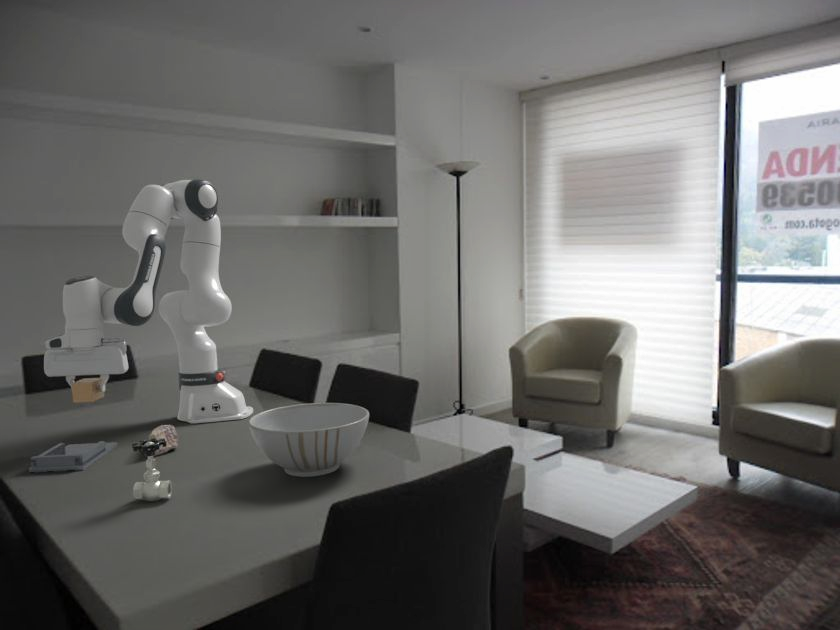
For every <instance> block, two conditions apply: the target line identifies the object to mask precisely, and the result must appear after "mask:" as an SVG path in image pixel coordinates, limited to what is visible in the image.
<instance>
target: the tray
mask: <svg viewBox="0 0 840 630" xmlns="http://www.w3.org/2000/svg"><path fill="white" fill-rule="evenodd" d="M118 446H119V445H118V442H114V441H113V442H106V440H105V441H103V440H100V441H98V442H96V443H94V442H93V443H90V442H89V443H74V444H68V445H66V444H65V442H60V443H58V444H56V445H54V446H52V447H51V448H49V449H46V450H45V451H44V452H42V453H40V454H39V455H35V456H31V457H30V467H28V474H30V472H34V473H48V472H47V471H54V472H68V471H67V470H75V471H85V470H86V469H87V468H88V467H90V466H92V465H93V464H95V463H96V462H98V461H99V460H100V459H101V458H103V457H104V456H105V455H107V454H108V453H110V452H111V451H113V450H114V449H115V448H117V447H118ZM98 459H99V460H98ZM95 461H96V462H95Z"/></svg>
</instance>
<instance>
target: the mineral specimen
mask: <svg viewBox="0 0 840 630" xmlns="http://www.w3.org/2000/svg"><path fill="white" fill-rule="evenodd" d="M178 437H179V435H178V432H177V431H176V429H175V426H174V425H172V424H161V425H160V426H156V428H153V430H152V431H151V433H149V435H148V440H151V439H152V438H157V440H159V439H162V438H164V439H165V441H166V443H167V446H166V447H163V445H161V446H160V449H159V450H157V451H155V455H153V458H154V457H156V456H157V457H158V456H160V455H162V454H166V453H167V452H169V451H171V450H176V449H177V447H179V445H178V442H179V438H178ZM154 444H155V443H154ZM175 448H176V449H175Z"/></svg>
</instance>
